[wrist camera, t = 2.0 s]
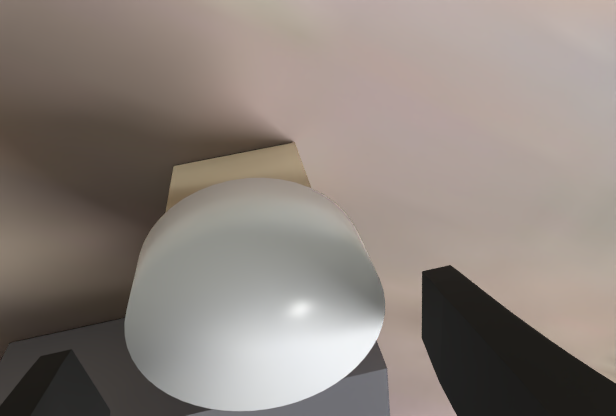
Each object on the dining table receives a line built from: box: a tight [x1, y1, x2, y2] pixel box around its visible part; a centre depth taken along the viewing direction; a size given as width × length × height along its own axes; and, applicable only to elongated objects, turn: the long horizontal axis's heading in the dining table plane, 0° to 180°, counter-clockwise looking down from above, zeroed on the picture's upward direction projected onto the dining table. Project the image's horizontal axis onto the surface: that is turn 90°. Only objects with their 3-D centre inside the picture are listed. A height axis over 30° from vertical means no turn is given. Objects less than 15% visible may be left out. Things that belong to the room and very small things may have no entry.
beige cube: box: [165, 142, 311, 213], centre depth 13 cm, size 4×4×4 cm
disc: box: [124, 178, 385, 411], centre depth 11 cm, size 6×6×2 cm
